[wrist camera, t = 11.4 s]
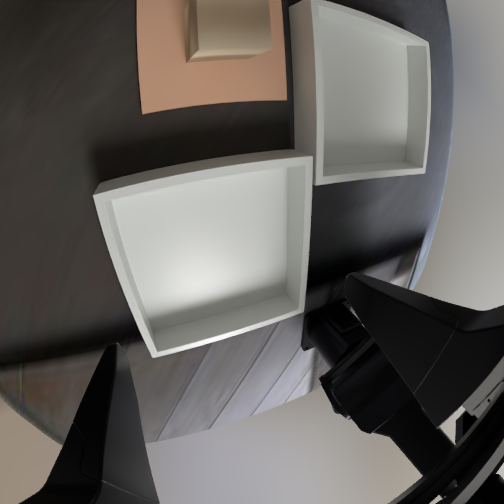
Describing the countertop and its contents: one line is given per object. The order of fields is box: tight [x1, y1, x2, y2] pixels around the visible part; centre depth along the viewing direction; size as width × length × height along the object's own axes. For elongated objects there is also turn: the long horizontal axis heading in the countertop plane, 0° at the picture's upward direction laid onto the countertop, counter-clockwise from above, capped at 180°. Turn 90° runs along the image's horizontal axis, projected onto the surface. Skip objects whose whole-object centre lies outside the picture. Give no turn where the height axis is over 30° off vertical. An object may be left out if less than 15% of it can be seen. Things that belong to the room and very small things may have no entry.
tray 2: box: [288, 0, 431, 186], centre depth 19 cm, size 14×14×3 cm
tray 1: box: [93, 149, 313, 358], centre depth 20 cm, size 14×14×3 cm
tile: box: [137, 0, 287, 114], centre depth 14 cm, size 10×10×1 cm
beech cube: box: [184, 0, 272, 63], centre depth 12 cm, size 4×4×4 cm
